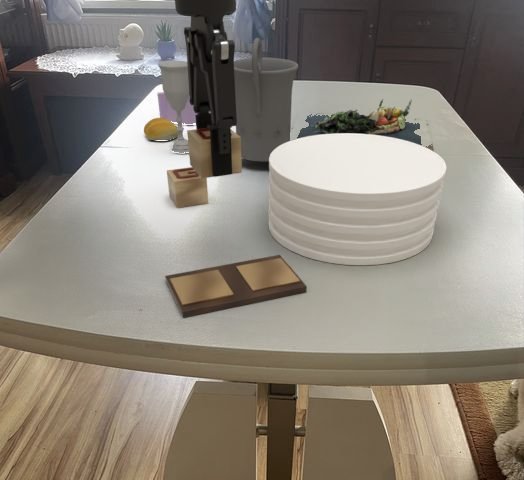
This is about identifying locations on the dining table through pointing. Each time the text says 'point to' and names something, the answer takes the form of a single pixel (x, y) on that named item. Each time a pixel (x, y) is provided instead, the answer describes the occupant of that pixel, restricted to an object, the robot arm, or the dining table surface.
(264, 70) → the mug
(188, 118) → the purple block with holes
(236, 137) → the letter O
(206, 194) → the letter G
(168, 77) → the chalice
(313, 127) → the plated dish
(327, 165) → the plate stack
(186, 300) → the word board
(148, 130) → the bread roll
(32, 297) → the dining table surface
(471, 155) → the dining table surface
